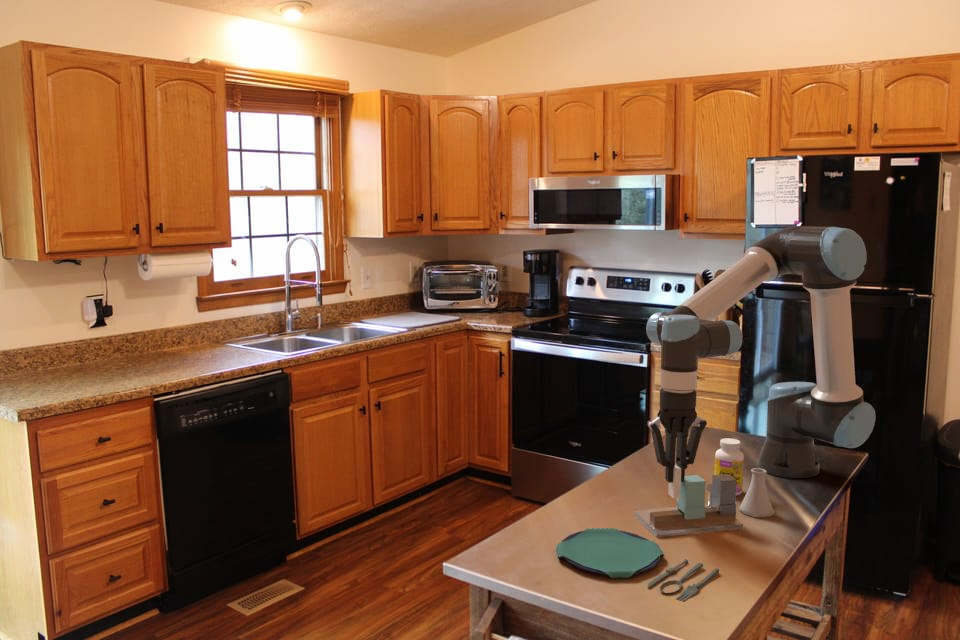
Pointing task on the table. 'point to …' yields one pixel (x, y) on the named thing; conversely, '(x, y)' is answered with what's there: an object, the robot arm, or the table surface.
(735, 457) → the supplement bottle
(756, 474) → the flask
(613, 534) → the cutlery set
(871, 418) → the robot arm
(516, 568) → the table surface
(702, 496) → the block
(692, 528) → the base
